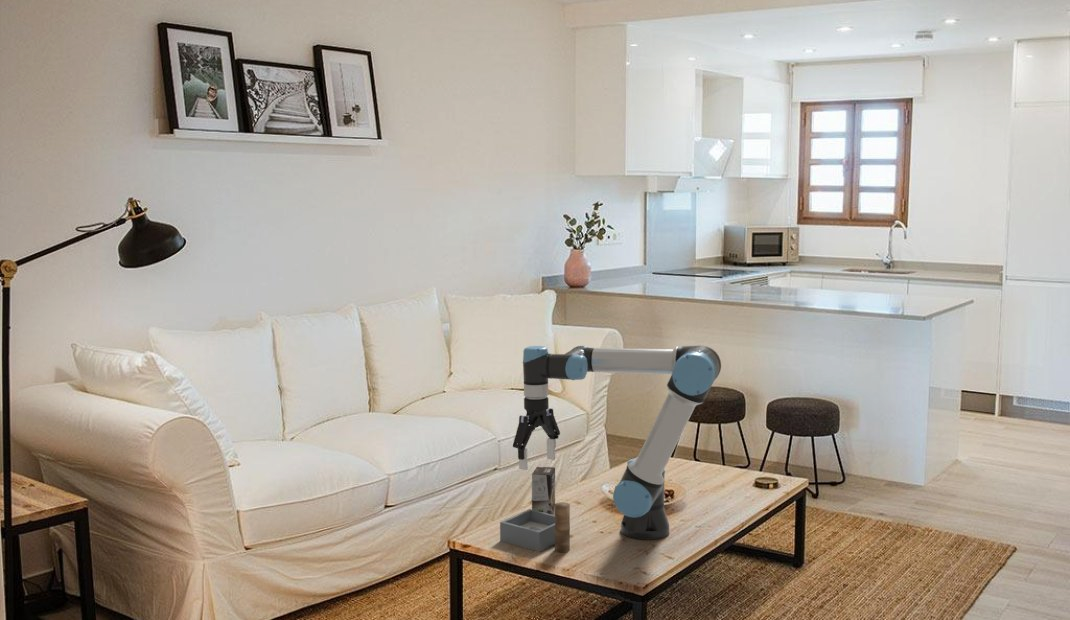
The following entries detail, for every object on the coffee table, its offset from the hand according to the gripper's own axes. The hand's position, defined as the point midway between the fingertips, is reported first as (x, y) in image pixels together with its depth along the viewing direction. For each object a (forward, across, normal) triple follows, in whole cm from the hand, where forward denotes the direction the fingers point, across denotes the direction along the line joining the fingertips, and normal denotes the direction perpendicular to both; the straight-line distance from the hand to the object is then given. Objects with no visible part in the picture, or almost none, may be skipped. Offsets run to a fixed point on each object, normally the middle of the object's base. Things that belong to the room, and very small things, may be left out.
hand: (537, 464), depth 312 cm
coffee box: (+23, -13, -8) cm, 28 cm away
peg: (+23, +5, +13) cm, 27 cm away
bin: (+23, +4, +1) cm, 23 cm away
